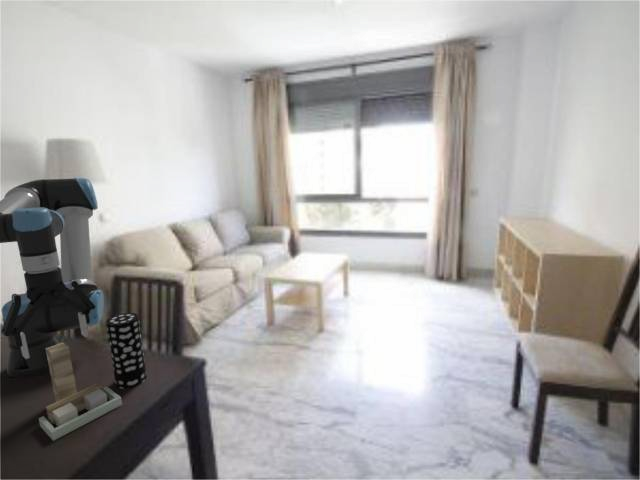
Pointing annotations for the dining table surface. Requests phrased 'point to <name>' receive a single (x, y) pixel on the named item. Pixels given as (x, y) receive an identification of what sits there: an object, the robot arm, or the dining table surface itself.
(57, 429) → the bay
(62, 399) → the cream t-shaped block
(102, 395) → the gray cube
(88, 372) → the dining table surface
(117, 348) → the spotted tube
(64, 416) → the off-white cube
